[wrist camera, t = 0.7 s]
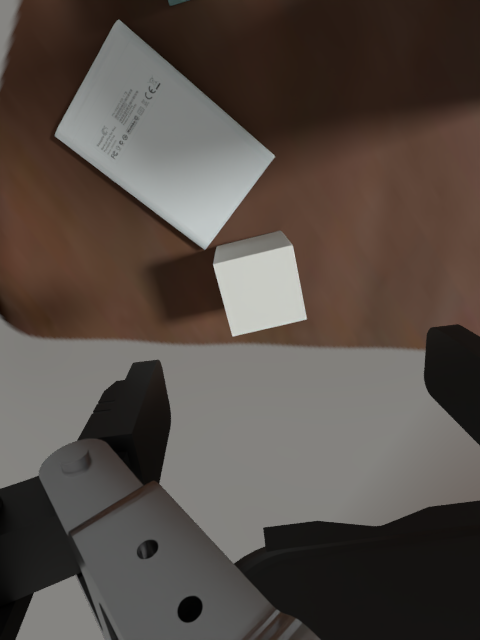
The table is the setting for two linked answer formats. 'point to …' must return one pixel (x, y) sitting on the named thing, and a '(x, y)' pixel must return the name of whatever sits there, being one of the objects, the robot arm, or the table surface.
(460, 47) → the table surface
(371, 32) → the table surface
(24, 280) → the table surface
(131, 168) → the external hard drive
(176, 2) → the teal block
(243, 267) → the white block
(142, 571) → the robot arm
